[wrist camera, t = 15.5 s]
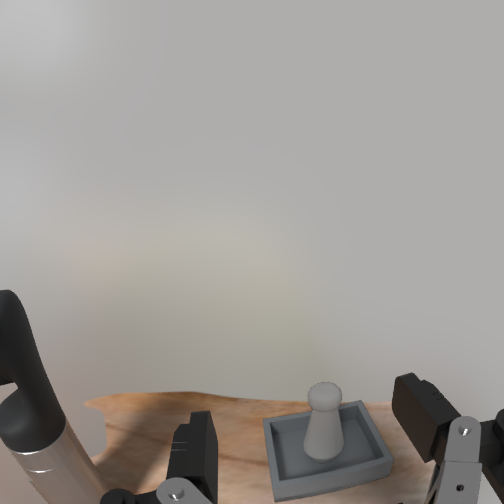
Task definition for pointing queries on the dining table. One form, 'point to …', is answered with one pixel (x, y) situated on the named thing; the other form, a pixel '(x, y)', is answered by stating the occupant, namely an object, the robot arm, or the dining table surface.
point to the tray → (326, 474)
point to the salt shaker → (324, 423)
